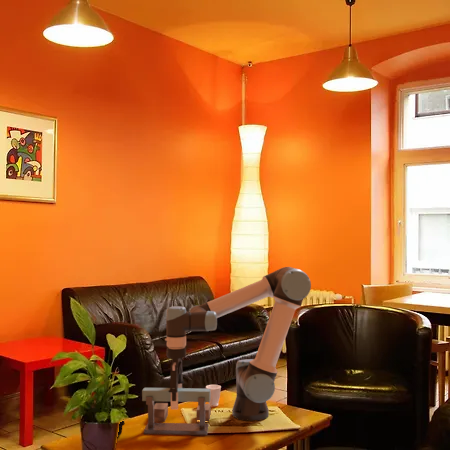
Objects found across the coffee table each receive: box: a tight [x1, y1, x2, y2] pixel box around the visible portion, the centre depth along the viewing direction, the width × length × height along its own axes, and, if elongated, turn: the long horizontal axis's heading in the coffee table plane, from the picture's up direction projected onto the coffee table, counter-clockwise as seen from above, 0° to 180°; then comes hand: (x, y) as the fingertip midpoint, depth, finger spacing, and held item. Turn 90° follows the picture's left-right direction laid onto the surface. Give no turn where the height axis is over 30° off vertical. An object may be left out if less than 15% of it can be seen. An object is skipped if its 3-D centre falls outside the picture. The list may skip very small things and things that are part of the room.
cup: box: [205, 384, 222, 407], centre depth 255 cm, size 7×10×8 cm
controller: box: [117, 420, 126, 437], centre depth 219 cm, size 4×12×10 cm, turn 25°
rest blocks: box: [154, 402, 212, 423], centre depth 238 cm, size 23×8×5 cm, turn 86°
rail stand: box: [143, 396, 210, 436], centre depth 224 cm, size 24×8×14 cm, turn 86°
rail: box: [141, 387, 211, 403], centre depth 224 cm, size 26×4×4 cm, turn 86°
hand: (176, 404), depth 224 cm, fingers open, 10 cm apart
